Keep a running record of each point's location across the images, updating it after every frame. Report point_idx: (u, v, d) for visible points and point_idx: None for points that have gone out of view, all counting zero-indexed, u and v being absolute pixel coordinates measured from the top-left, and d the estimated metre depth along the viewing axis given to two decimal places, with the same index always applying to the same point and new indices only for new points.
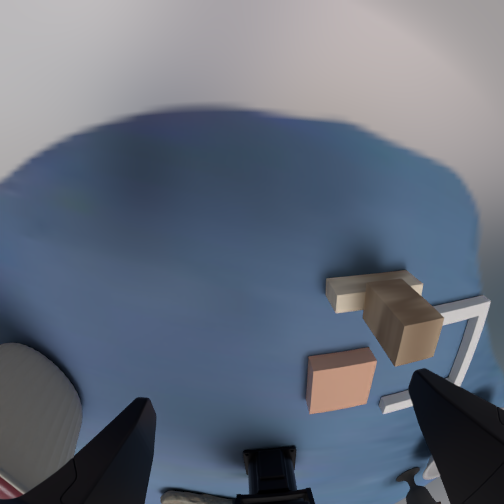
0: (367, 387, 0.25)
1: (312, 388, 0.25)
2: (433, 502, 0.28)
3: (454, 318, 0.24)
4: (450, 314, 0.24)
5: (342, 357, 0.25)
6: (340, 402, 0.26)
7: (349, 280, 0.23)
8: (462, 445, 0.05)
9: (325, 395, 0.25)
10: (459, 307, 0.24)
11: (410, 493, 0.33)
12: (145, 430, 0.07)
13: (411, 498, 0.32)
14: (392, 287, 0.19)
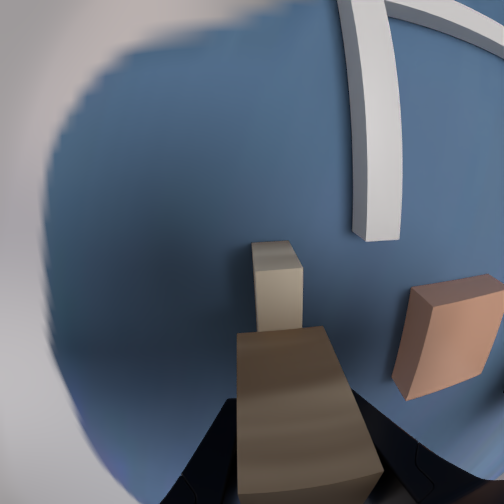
0: (481, 302, 0.11)
1: (437, 389, 0.13)
2: None
3: (386, 84, 0.09)
4: (374, 101, 0.09)
5: (409, 345, 0.13)
6: (484, 338, 0.12)
7: None
8: None
9: (458, 368, 0.13)
10: (358, 68, 0.09)
11: None
12: None
13: None
14: None
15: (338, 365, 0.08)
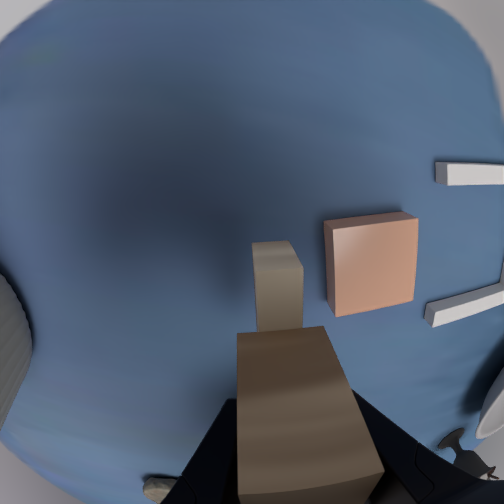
0: (412, 268, 0.18)
1: (335, 264, 0.18)
2: (487, 468, 0.21)
3: (497, 178, 0.17)
4: (492, 170, 0.16)
5: (371, 218, 0.18)
6: (377, 294, 0.19)
7: None
8: None
9: (355, 278, 0.18)
10: (499, 165, 0.17)
11: (458, 460, 0.26)
12: None
13: (460, 466, 0.25)
14: None
15: (338, 365, 0.08)
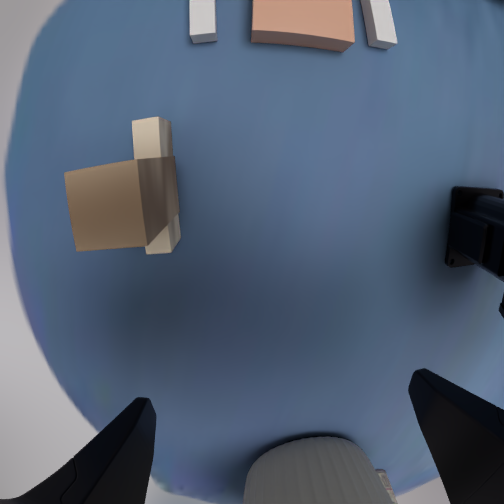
0: None
1: (291, 32, 0.13)
2: None
3: None
4: None
5: None
6: None
7: None
8: (462, 445, 0.05)
9: (311, 16, 0.13)
10: None
11: None
12: (145, 430, 0.07)
13: None
14: None
15: (163, 156, 0.13)
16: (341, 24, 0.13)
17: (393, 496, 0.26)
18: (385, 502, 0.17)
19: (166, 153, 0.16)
